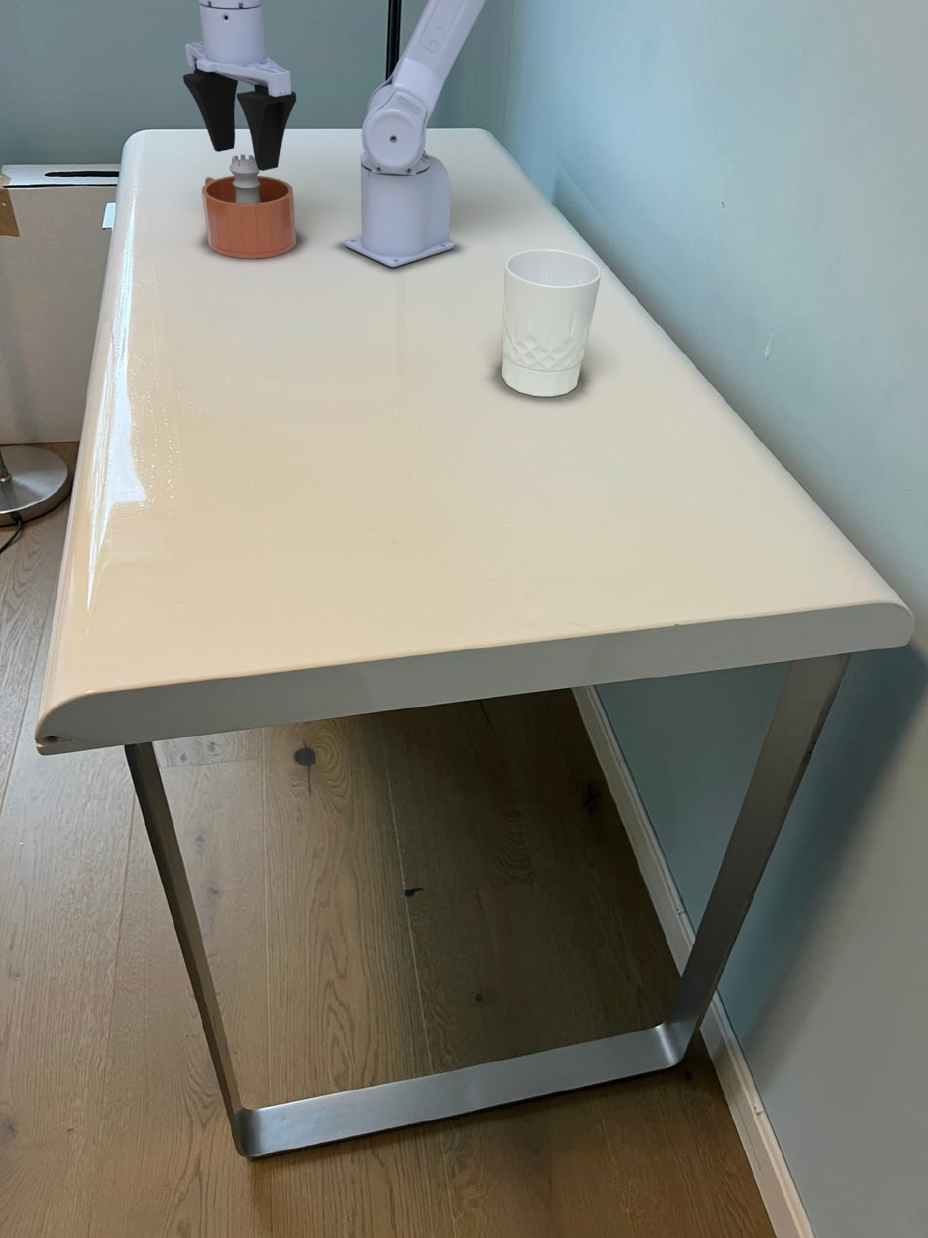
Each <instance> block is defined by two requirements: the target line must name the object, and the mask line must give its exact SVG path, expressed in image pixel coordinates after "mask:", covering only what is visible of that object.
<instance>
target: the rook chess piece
mask: <svg viewBox="0 0 928 1238" xmlns="http://www.w3.org/2000/svg"><path fill="white" fill-rule="evenodd" d="M228 169H229V171H230V172H231V174H232V176H234V177H235V181H234V182H233V185H234V186H235V190H236V203H240V204H255V203H261V200H260V196H259V185H260V182H259V181H258V179H257V176H259V173H260V172H261V170H259V169H258V167H257V164H256V161H255V156H254V155H252V154H249V155H248V159H247V158H246V154H240V159H239V156H238V155H233V156H232V157H231V164H230V166H229V167H228Z"/></svg>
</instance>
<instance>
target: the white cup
mask: <svg viewBox="0 0 928 1238" xmlns="http://www.w3.org/2000/svg"><path fill="white" fill-rule="evenodd" d="M601 278H602V268H601V267H600V266H599V264H598V263H596V262H595V261H594V260H592V259H591V258H588V257H586V256H585V255H582V254H579V253H576V252H572V251H567V250H562V249H555V248H554V249H553V248H552V249H551V248H534V249H527V250H523V251H519V252H516V253H514V254H512V255H510V256H509V257H508V258H506V261H505V262H504V280H503V284H504V285H503V305H502V338H501V340H502V342H501V343H502V351H503V352H502V365H501V377H502V378H503V380H504V382H505V384H506V385H507V386H508V387H510V388H511V389H513V390H514V391H516V392H519V393H520V394H521V393H522V394H526V395H529V396H533V397H542V398H543V397H544V398H545V397H550V398H551V397H552V398H553V397H557V396H558V397H559V396H562V395H566V394H568V393H570V392H571V391H572V390H574V389H575V388H576V387H577V385H578V381H579V376H580V372H581V367H582V363H583V358H584V357H585V354H586V349H587V345H588V342H589V336H590V331H591V327H592V324H593V319H594V313H595V307H596V302H597V298H598V292H599V289H600V288H599V287H600V283H601Z"/></svg>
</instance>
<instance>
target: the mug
mask: <svg viewBox="0 0 928 1238" xmlns="http://www.w3.org/2000/svg"><path fill="white" fill-rule="evenodd" d="M257 179H258V181H259V182H260V185H259V196H260V200H261V203H255V204H240V203H236V190H235V186H234V185H233V182H234V181H235V177H234V175H231V176H224V177H219V178H213V177H211V176H208V177H206V178H205V180H204V185H203V186H202V188H201V196H202V197H201V198H202V205H203V213H204V221H205V229H206V237H207V242H208V246H209V247H210V248H211V250H213V251H215V252H216V253H218V254H220V255H223V256H225V257H230V258H236V259H247V260H248V259H249V260H252V259H254V260H255V259H265V258H267V259H268V258H272V257H277V256H281V255H284V254H286V253H288V252H290V251H291V250H293V249H294V248H295V246H296V244H297V233H296V217H295V216H296V215H295V202H294V201H295V200H294V188H293V186H292V185H291V184H289V183H288V182H286V181H285V180H282V179H279V178H275V177H270V176H265V175H264V176H263V175H257Z"/></svg>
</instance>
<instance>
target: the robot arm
mask: <svg viewBox="0 0 928 1238" xmlns="http://www.w3.org/2000/svg"><path fill="white" fill-rule="evenodd" d="M486 1H487V0H428V1H427V3H426V5H425V7H424V10H423V12H422V14H421V15H420V18H419V21H418V22H417V24H416V27H415V29H414V31H413V33H412V35H411V36H410V38H409V41H408V43H407V45H406V47H405V50H404V51H403V52H402V55H401V56H400V58H399V60H398V61H397V63H396V65H395V67H394V69H393V71H392V73H391V75H390V76H389V78H387V80H386V81H384V82H383V83H381V84H380V85H379V86H378V87H377V88H376V89H375V90H373V92H372V94H371V95H370V97H369V100H368V103H367V106H366V107H367V108H366V117H365V119H364V120H363V123H362V127H361V135H360V137H361V143H362V148H363V151H364V152H363V153H361V154H360V196H361V197H360V205H361V206H360V209H361V212H360V213H361V236H358V237H354V238H351V239H347V240H345V241H344V245H345V247H347V248H349V249H351V250H353V251H356V252H357V253H359V254H362V255H364V256H366V257H367V258H370V259H373V260H375V261H377V262H379V263H381V264H384V265H386V266H388V267H390V268H396V267H399V266H402V265H405V264H408V263H411V262H415V261H417V260H421V259H424V258H427V257H430V256H433V255H437V254H440V253H442V252H446V251H449V250H452V249H454V247H455V243H454V242H452V241H451V240H450V223H451V221H450V220H451V201H452V183H451V178H450V175H449V173H448V172H449V171H448V170H447V168H446V166H445V165H444V163H442V161H440V159H439V158H437V157H435V156H433V155H429V154H428V153H426V149H425V148H426V142H427V126H428V123H429V121H430V118H431V117H432V115H433V113H434V110H435V108H436V105H437V102H438V99H439V97H440V95H441V91H442V89H443V87H444V83H445V82H446V80H447V77H449V74H450V71H451V70H452V67H453V66H454V64H455V62H456V60H457V58H458V56H459V54H460V53H461V50H462V48H463V46H464V44H465V42H466V40H467V38H468V36H469V34H470V32H471V30H472V28H473V27H474V24H475V23H476V21H477V19H478V17H479V14H480V13H481V11H482V9H483V7H484V5H485V3H486ZM198 4H199V13H200V22H201V23H200V24H201V30H202V40H203V41H198V42H191V43H185V44H184V47H185V54H186V55H185V56H186V61H187V66H188V67H191V68H194V69H193V72H191V73H190V72H189V73H185V74H183V75H182V79H183V83H184V85H185V86H186V88H187V89H188V91H189V92H190V94H191V96H192V98H193V99H194V101H195V103H196V106H197V107H198V109H199V112H200V114H201V116H202V119H203V122H204V125H205V127H206V130H207V134H208V136H209V139H210V143H211V144H212V148H213V150H214V151H215V152H217V153H218V152H224V151H230V150H235V143H236V123H235V121H236V120H235V107H236V106H235V105H236V99H237V101H238V103H239V106H240V107H241V109H242V111H243V114H244V117H245V119H246V122H247V125H248V129H249V132H250V139H251V144H252V150H253V156H254V157H255V161H256V164H257V167H258V169H259V170H260V172H264V171H269V170H273V169H278V168H279V163H280V157H281V150H282V145H283V138H284V134H285V130H286V126H287V124H288V120H289V117H290V115H291V113H292V110H293V108H294V106H295V104H296V103H297V94H296V92H295V91H293V90H292V81H291V71H290V70H287V69H285V68H282V67H281V66H280V65H279V64H277V63H275V62H274V61H273V60H272V59H270V58H269V57H268V56H267V54H266V43H265V33H264V19H263V7H262V0H198ZM239 82H241V83H243V84H246V85H249V86H252V87H254V90H250V91H244V92H238V93H237V89H238V84H239Z"/></svg>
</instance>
